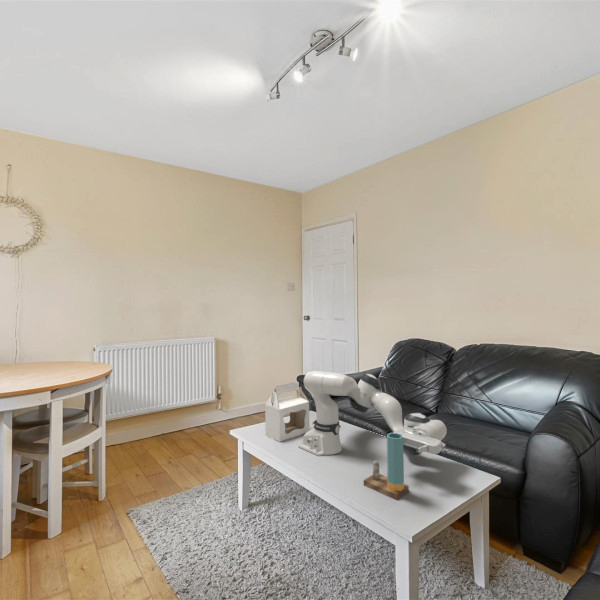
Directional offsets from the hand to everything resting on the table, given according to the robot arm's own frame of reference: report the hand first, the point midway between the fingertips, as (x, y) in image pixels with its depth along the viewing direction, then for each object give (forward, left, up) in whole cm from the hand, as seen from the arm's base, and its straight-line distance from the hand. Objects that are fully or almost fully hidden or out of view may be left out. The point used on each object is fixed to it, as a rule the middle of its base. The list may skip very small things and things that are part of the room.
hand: (406, 446), depth 143 cm
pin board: (-6, -7, -15) cm, 18 cm away
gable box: (-75, +16, -16) cm, 78 cm away
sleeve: (-2, -8, -13) cm, 16 cm away
